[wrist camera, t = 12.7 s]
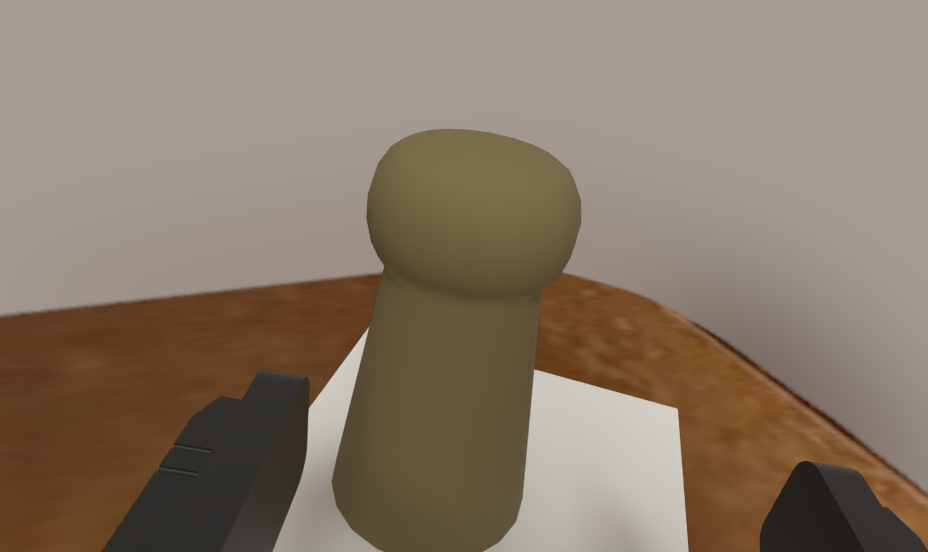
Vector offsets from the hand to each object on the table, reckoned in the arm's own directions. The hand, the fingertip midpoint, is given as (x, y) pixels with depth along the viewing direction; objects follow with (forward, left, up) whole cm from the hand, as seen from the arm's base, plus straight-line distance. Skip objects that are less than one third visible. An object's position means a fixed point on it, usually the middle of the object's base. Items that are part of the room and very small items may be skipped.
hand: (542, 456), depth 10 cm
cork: (-3, +6, -8) cm, 11 cm away
